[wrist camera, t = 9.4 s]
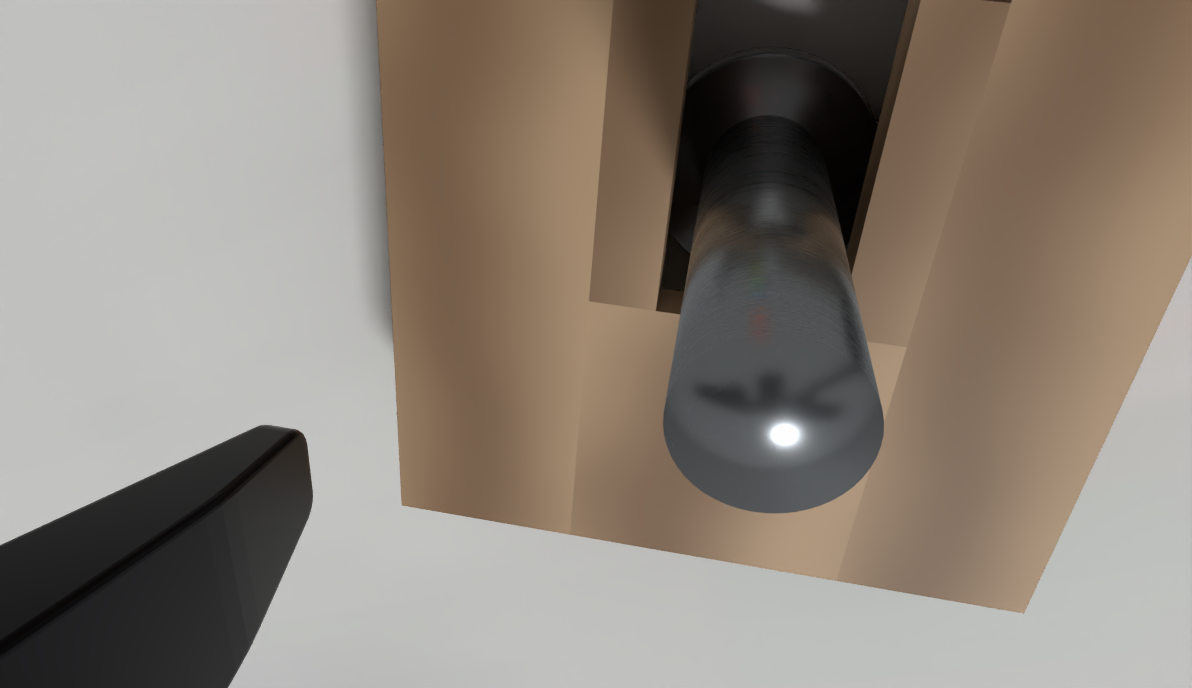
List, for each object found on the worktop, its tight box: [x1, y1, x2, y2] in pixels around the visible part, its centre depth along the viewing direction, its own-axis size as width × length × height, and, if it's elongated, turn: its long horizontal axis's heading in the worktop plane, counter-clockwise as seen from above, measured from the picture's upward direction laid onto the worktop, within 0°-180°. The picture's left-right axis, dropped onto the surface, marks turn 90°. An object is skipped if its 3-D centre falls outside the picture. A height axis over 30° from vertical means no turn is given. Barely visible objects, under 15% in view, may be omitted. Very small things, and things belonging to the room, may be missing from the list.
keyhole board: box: [376, 0, 1192, 613], centre depth 15 cm, size 14×22×4 cm, turn 176°
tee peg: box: [663, 47, 884, 513], centre depth 14 cm, size 5×5×10 cm
